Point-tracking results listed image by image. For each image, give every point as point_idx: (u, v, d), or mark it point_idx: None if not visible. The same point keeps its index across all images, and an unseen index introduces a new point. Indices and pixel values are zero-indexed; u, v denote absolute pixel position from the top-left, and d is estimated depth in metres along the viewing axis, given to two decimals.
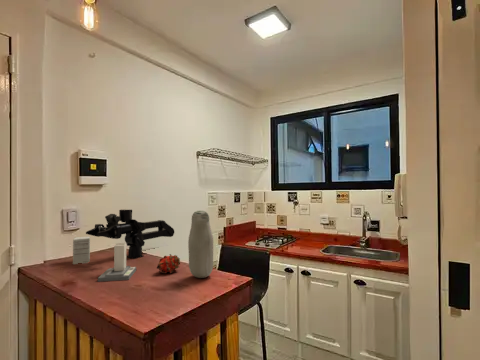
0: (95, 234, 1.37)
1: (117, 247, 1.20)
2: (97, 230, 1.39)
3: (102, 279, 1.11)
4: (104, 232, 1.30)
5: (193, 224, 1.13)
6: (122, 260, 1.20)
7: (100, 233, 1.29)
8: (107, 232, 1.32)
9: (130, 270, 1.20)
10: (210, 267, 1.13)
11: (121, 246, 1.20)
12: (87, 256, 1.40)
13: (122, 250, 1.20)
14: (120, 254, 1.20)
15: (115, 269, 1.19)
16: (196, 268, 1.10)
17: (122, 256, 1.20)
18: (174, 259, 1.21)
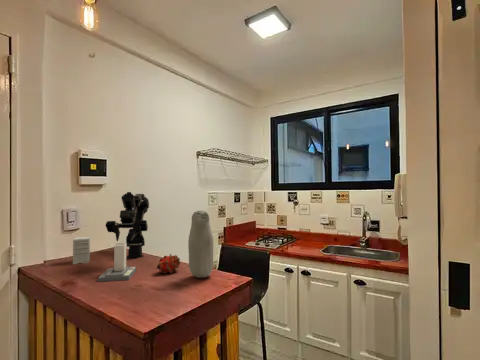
0: (119, 233, 1.32)
1: (117, 247, 1.20)
2: (118, 229, 1.31)
3: (102, 279, 1.11)
4: (134, 234, 1.30)
5: (193, 224, 1.13)
6: (122, 260, 1.20)
7: (132, 237, 1.29)
8: (135, 231, 1.32)
9: (130, 270, 1.20)
10: (210, 267, 1.13)
11: (121, 246, 1.20)
12: (87, 256, 1.40)
13: (122, 250, 1.20)
14: (120, 254, 1.20)
15: (115, 269, 1.19)
16: (196, 268, 1.10)
17: (122, 256, 1.20)
18: (174, 259, 1.21)
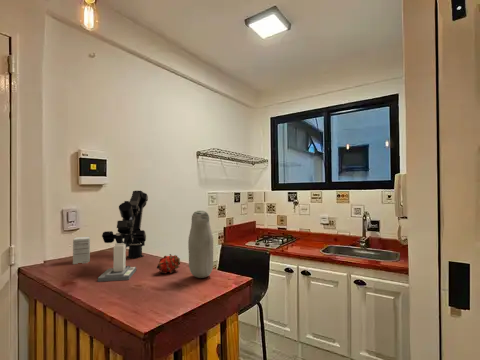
0: None
1: (116, 248, 1.19)
2: (122, 240, 1.27)
3: (102, 279, 1.11)
4: None
5: (193, 224, 1.13)
6: (121, 261, 1.19)
7: None
8: (126, 243, 1.26)
9: (130, 270, 1.20)
10: (210, 267, 1.13)
11: (120, 246, 1.19)
12: (87, 256, 1.40)
13: (121, 251, 1.19)
14: (119, 255, 1.19)
15: (114, 270, 1.18)
16: (196, 268, 1.10)
17: (121, 257, 1.19)
18: (174, 259, 1.21)
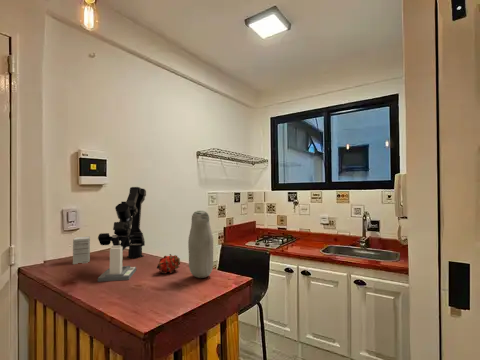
0: None
1: (113, 250, 1.13)
2: (118, 242, 1.22)
3: (102, 279, 1.11)
4: None
5: (193, 224, 1.13)
6: (118, 264, 1.13)
7: None
8: (123, 245, 1.21)
9: (130, 270, 1.20)
10: (210, 267, 1.13)
11: (117, 249, 1.14)
12: (87, 256, 1.40)
13: (118, 253, 1.14)
14: (116, 257, 1.13)
15: (110, 273, 1.13)
16: (196, 268, 1.10)
17: (118, 260, 1.14)
18: (174, 259, 1.21)
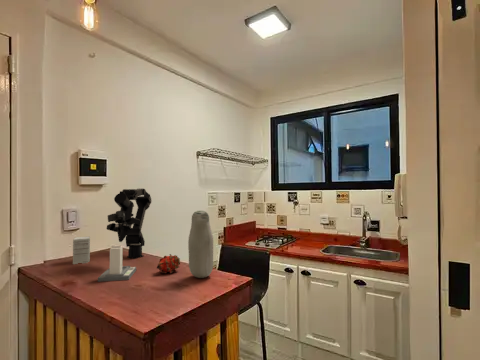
0: None
1: (113, 250, 1.13)
2: None
3: (102, 279, 1.11)
4: (122, 235, 1.32)
5: (193, 224, 1.13)
6: (118, 264, 1.13)
7: (121, 238, 1.31)
8: (123, 232, 1.32)
9: (130, 270, 1.20)
10: (210, 267, 1.13)
11: (117, 249, 1.14)
12: (87, 256, 1.40)
13: (118, 253, 1.14)
14: (116, 257, 1.13)
15: (110, 273, 1.13)
16: (196, 268, 1.10)
17: (118, 260, 1.14)
18: (174, 259, 1.21)
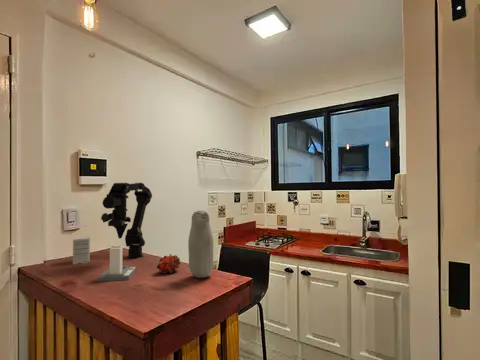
0: None
1: (113, 250, 1.13)
2: None
3: (102, 279, 1.11)
4: (118, 232, 1.36)
5: (193, 224, 1.13)
6: (118, 264, 1.13)
7: (119, 235, 1.37)
8: (118, 229, 1.36)
9: (130, 270, 1.20)
10: (210, 267, 1.13)
11: (117, 249, 1.14)
12: (87, 256, 1.40)
13: (118, 253, 1.14)
14: (116, 257, 1.13)
15: (110, 273, 1.13)
16: (196, 268, 1.10)
17: (118, 260, 1.14)
18: (174, 259, 1.21)
